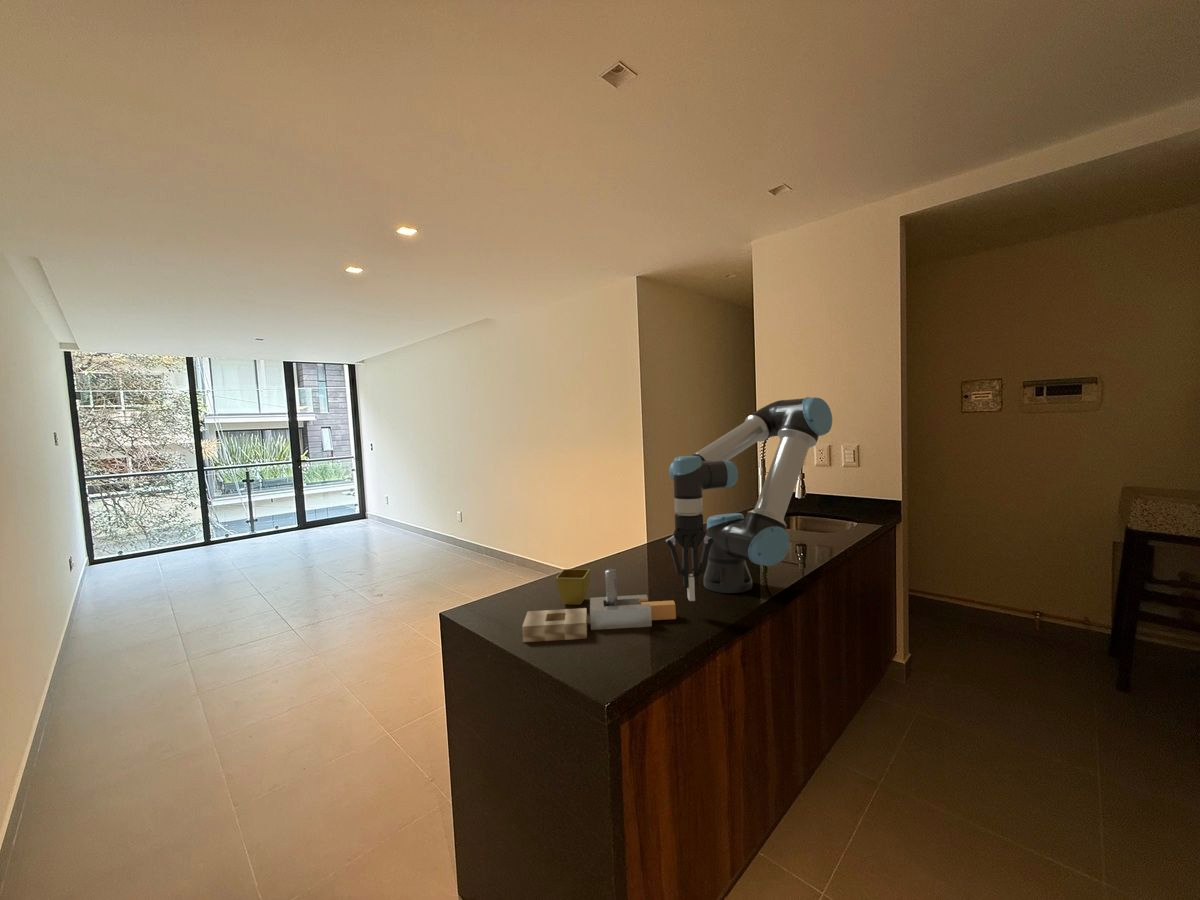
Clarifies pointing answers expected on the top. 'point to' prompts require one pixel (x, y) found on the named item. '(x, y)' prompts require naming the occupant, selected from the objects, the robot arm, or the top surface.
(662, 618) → the drift key
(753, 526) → the robot arm
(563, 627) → the rack block
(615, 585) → the drill peg
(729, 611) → the top surface
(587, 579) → the flower pot
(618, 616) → the socket block
